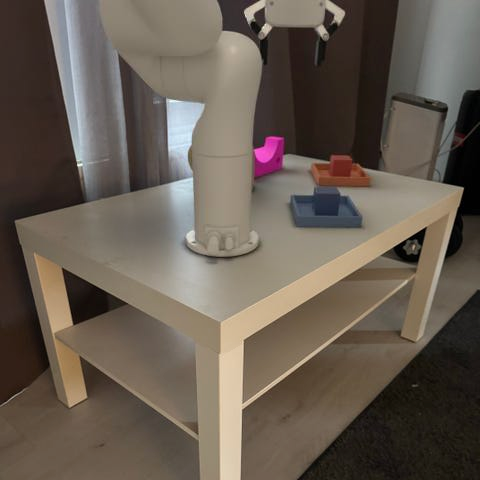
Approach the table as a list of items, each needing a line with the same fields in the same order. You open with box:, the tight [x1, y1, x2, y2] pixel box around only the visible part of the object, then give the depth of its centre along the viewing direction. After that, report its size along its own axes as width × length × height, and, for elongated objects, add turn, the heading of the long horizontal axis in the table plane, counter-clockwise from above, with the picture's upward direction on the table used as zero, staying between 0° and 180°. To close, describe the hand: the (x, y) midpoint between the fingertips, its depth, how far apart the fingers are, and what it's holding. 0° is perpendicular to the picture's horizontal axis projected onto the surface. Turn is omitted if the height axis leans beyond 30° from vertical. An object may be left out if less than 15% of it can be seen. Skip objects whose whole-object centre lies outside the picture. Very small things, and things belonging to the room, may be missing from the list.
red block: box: [329, 154, 353, 177], centre depth 119 cm, size 4×4×4 cm
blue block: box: [312, 186, 342, 216], centre depth 96 cm, size 4×4×4 cm
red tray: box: [310, 162, 371, 187], centre depth 120 cm, size 13×12×2 cm
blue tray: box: [289, 194, 363, 228], centre depth 96 cm, size 13×12×2 cm
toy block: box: [252, 135, 285, 179], centre depth 122 cm, size 15×6×8 cm, turn 142°
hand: (291, 65), depth 87 cm, fingers open, 9 cm apart
